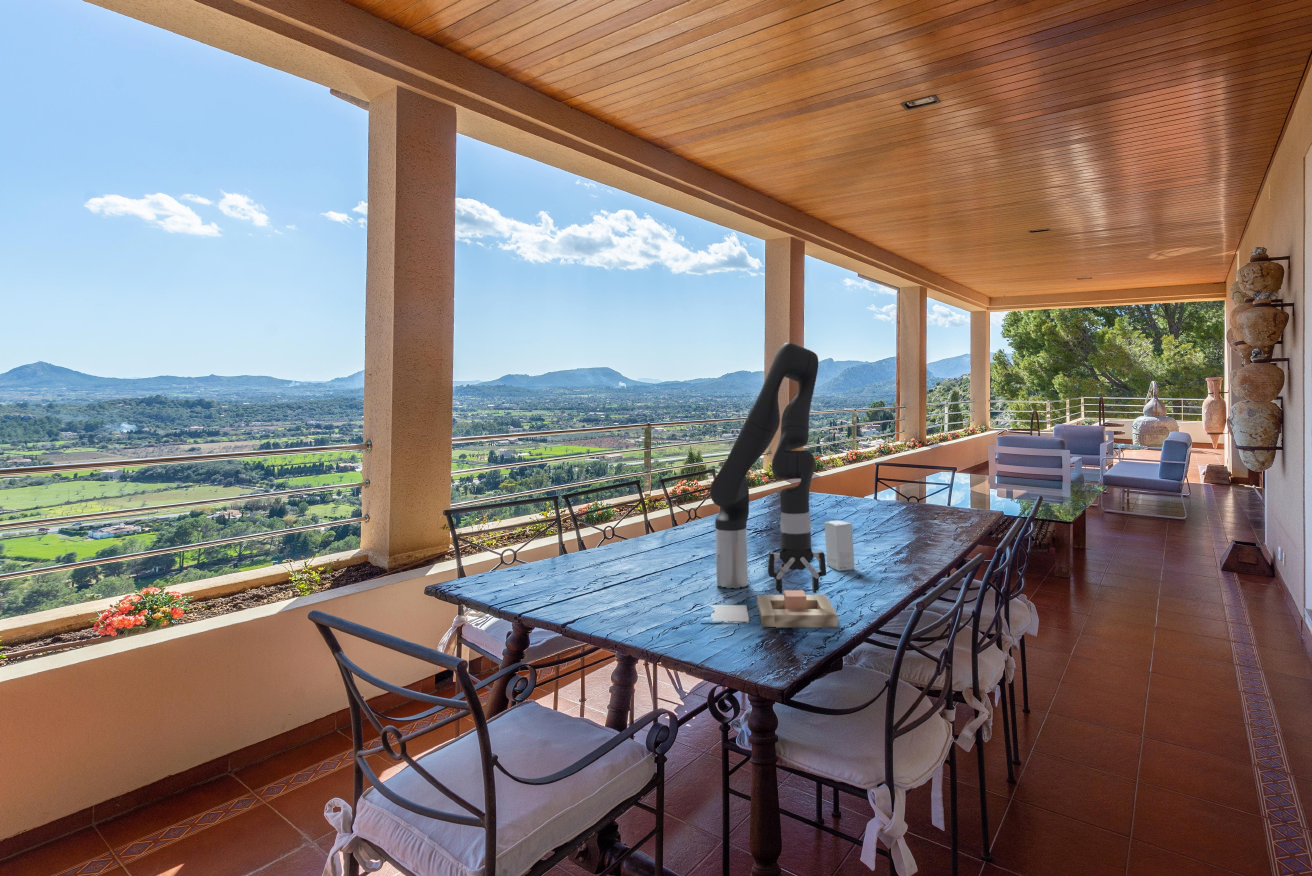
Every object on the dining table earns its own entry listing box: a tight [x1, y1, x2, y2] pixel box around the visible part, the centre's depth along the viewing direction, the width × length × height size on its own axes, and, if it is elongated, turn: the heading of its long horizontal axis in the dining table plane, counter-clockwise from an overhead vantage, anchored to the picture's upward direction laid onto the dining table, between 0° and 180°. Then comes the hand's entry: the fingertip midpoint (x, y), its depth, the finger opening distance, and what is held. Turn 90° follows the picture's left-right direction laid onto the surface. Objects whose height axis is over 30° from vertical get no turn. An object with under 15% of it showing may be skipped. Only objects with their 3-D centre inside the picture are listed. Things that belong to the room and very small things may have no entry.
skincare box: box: [824, 519, 855, 572], centre depth 207 cm, size 8×6×15 cm
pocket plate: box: [756, 594, 839, 628], centre depth 163 cm, size 18×16×3 cm
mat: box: [709, 604, 750, 624], centre depth 166 cm, size 12×12×1 cm
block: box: [783, 589, 807, 609], centre depth 163 cm, size 5×5×6 cm
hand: (797, 592), depth 163 cm, fingers open, 8 cm apart
